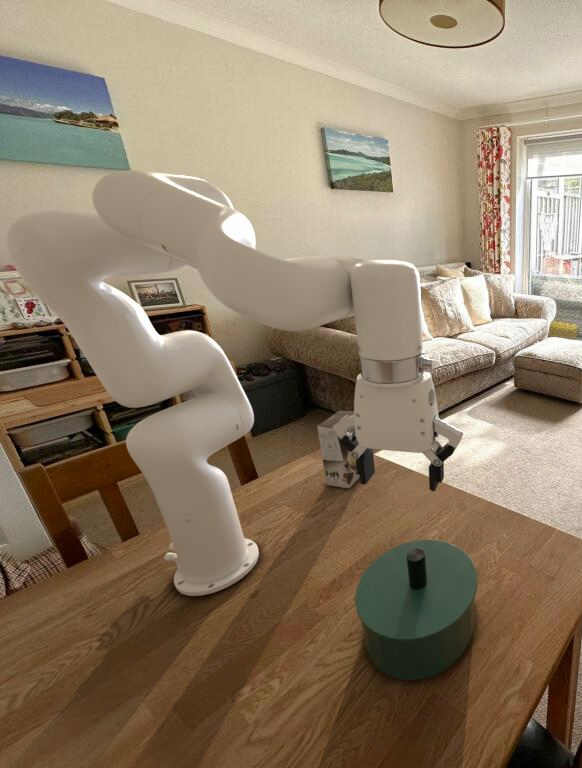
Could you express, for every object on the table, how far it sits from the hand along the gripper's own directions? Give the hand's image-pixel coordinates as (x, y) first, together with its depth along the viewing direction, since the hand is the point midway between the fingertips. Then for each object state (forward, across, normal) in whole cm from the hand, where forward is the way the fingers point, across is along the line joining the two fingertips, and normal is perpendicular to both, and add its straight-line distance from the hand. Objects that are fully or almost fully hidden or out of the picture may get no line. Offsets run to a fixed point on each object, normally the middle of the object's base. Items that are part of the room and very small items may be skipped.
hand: (401, 481), depth 56 cm
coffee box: (+27, +28, -35) cm, 52 cm away
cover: (+17, -2, +2) cm, 18 cm away
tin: (+26, -2, +2) cm, 26 cm away
